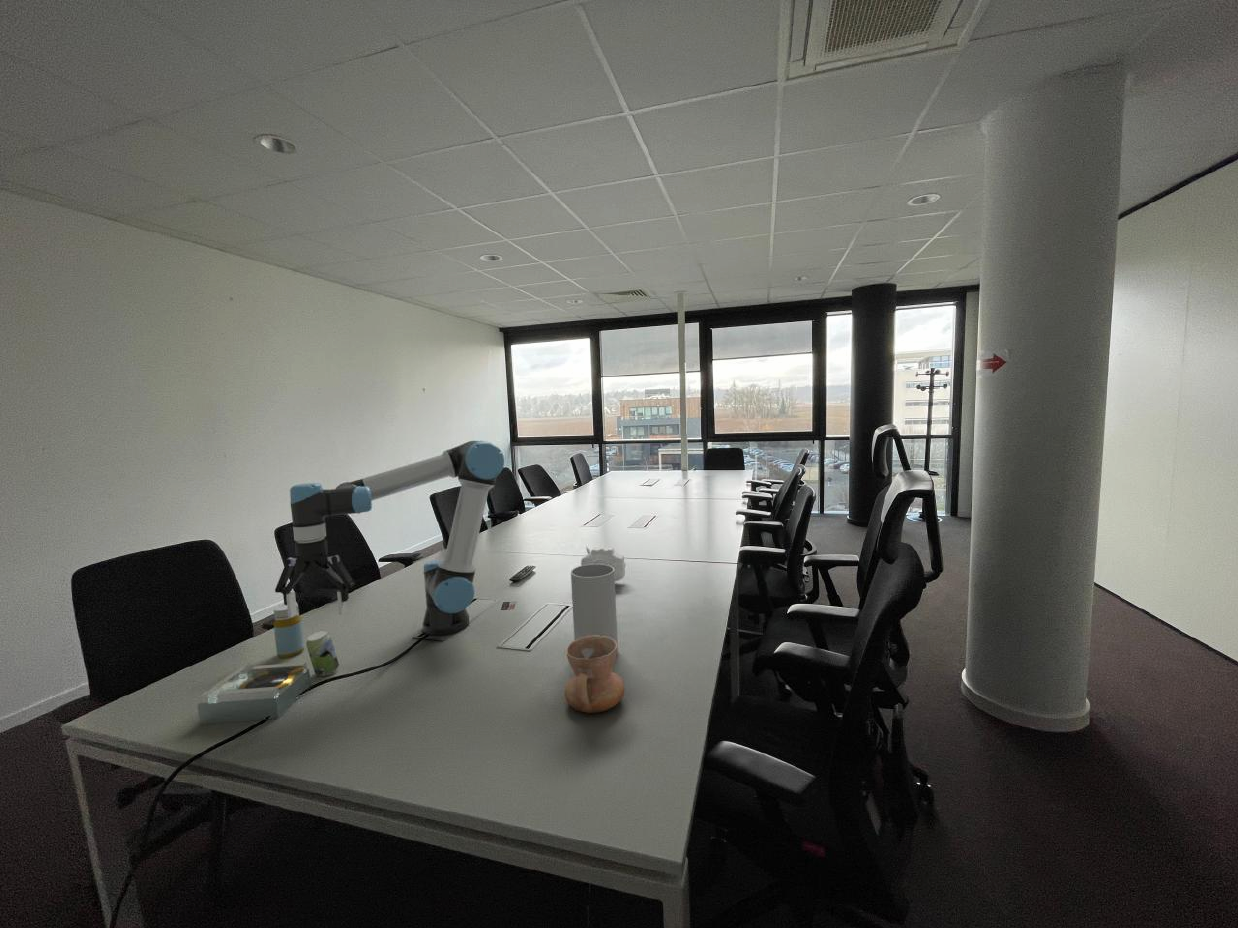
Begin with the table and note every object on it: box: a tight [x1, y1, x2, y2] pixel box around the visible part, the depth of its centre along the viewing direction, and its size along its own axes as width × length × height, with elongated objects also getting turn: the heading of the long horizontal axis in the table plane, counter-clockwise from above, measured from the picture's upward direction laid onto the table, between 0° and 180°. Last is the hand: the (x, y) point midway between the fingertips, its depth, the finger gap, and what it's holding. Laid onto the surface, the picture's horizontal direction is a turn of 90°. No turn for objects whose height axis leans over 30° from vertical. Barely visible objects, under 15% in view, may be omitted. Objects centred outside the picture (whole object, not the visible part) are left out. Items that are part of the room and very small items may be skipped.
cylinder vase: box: [570, 564, 619, 659], centre depth 143 cm, size 12×12×25 cm
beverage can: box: [305, 630, 340, 677], centre depth 139 cm, size 6×7×12 cm
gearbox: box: [197, 662, 312, 725], centre depth 125 cm, size 18×14×7 cm
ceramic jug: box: [564, 635, 626, 714], centre depth 118 cm, size 18×14×14 cm
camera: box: [580, 545, 626, 582], centre depth 203 cm, size 11×18×16 cm, turn 80°
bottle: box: [273, 602, 305, 659], centre depth 153 cm, size 7×7×15 cm
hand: (317, 614), depth 138 cm, fingers open, 13 cm apart
